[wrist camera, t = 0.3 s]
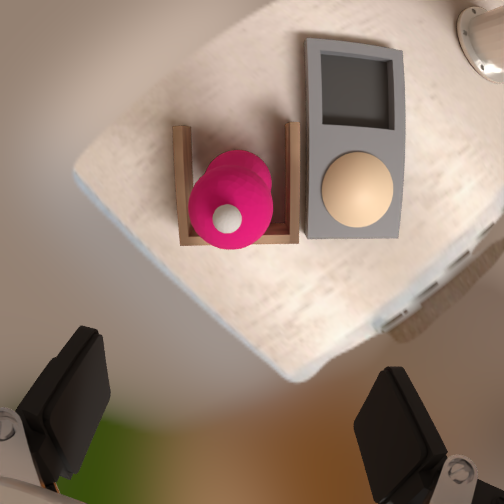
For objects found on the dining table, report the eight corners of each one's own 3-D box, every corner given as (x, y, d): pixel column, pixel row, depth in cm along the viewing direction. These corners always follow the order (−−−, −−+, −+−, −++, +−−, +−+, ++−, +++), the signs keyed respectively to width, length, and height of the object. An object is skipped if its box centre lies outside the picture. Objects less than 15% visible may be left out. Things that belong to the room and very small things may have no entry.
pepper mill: (209, 148, 36) (164, 160, 17) (270, 149, 36) (292, 163, 17) (208, 207, 39) (168, 276, 20) (268, 209, 39) (283, 280, 20)
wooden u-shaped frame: (293, 124, 35) (299, 122, 30) (293, 230, 40) (298, 243, 35) (182, 127, 35) (172, 126, 30) (188, 232, 40) (180, 245, 35)
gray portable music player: (395, 54, 31) (403, 50, 29) (392, 233, 40) (399, 239, 38) (304, 42, 31) (307, 37, 29) (304, 234, 40) (307, 239, 38)
